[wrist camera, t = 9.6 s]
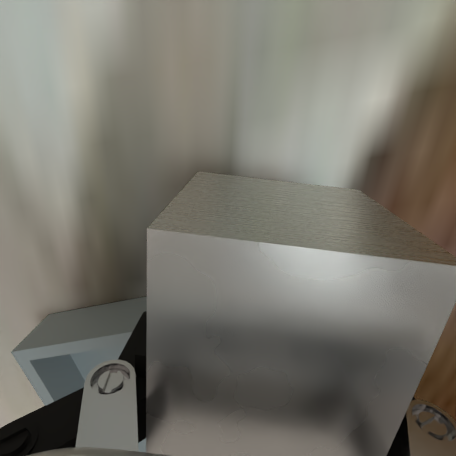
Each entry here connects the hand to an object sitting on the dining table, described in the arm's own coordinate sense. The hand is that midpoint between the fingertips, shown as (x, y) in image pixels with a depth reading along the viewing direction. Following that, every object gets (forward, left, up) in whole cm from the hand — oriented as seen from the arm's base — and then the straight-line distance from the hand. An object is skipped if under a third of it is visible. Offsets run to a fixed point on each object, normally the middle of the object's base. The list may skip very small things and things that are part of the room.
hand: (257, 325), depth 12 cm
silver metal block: (0, 0, -1) cm, 1 cm away
